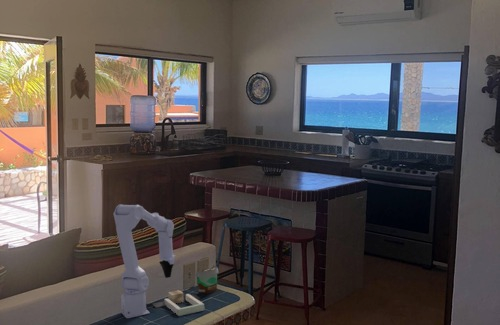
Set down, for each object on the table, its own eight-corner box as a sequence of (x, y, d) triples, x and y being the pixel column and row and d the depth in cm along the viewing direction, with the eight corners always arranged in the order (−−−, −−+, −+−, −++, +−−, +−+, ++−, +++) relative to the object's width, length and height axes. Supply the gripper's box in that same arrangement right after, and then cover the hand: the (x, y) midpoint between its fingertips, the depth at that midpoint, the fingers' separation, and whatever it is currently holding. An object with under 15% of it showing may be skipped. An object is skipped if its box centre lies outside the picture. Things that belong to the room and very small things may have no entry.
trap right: (190, 300, 228) (190, 300, 228) (185, 297, 232) (185, 296, 232) (200, 298, 230) (199, 297, 230) (195, 295, 235) (195, 294, 235)
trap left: (156, 308, 221) (156, 307, 221) (152, 304, 225) (151, 303, 225) (166, 305, 223) (166, 305, 223) (162, 302, 228) (162, 301, 228)
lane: (178, 316, 210) (178, 309, 209) (164, 304, 224) (164, 298, 224) (204, 310, 215) (204, 304, 215) (189, 299, 229) (188, 293, 229)
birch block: (172, 304, 224) (172, 295, 224) (168, 301, 229) (167, 292, 228) (184, 302, 227) (183, 292, 226) (179, 299, 231) (178, 290, 231)
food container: (207, 296, 233) (205, 273, 232) (196, 293, 237) (195, 271, 236) (225, 288, 243) (224, 266, 242) (215, 286, 246) (213, 264, 246)
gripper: (180, 248, 229) (182, 279, 230) (168, 242, 242) (170, 271, 243) (164, 250, 226) (166, 282, 227) (153, 244, 239) (155, 274, 240)
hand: (167, 277), depth 235 cm, fingers closed
